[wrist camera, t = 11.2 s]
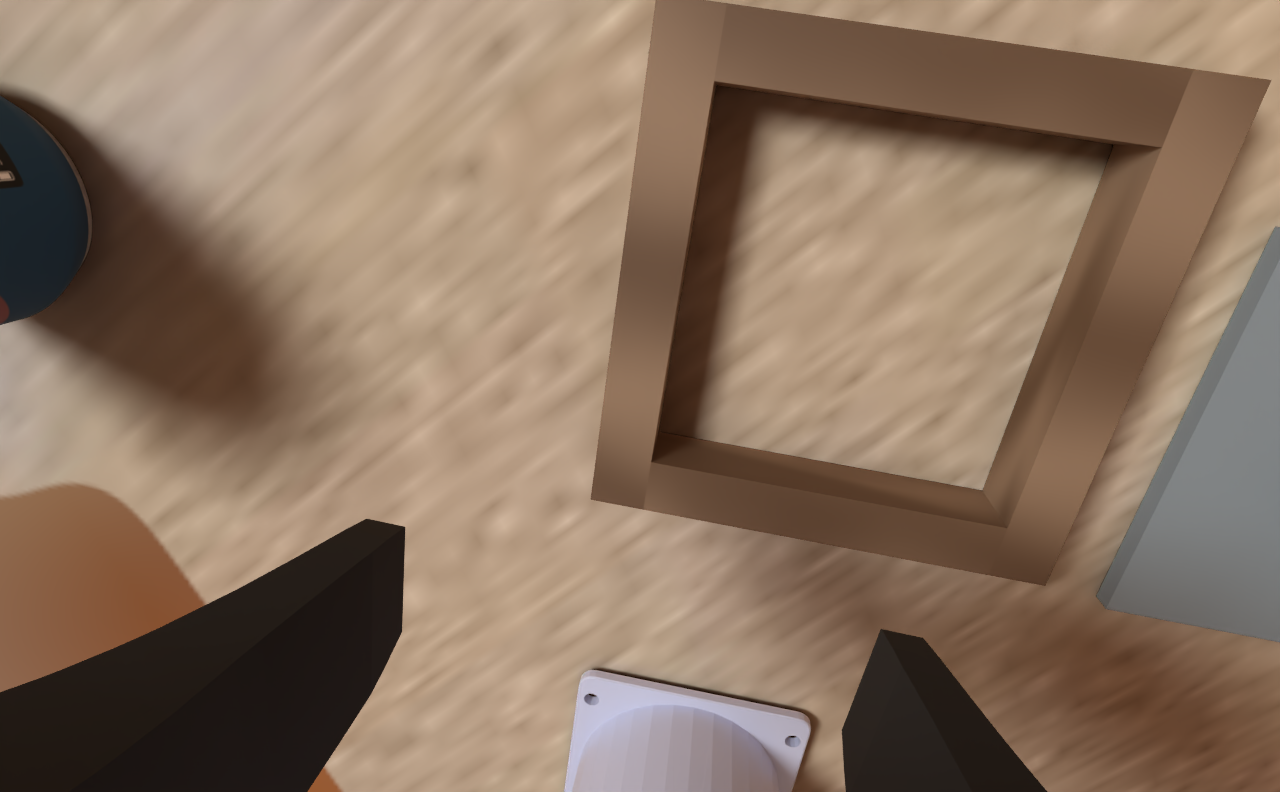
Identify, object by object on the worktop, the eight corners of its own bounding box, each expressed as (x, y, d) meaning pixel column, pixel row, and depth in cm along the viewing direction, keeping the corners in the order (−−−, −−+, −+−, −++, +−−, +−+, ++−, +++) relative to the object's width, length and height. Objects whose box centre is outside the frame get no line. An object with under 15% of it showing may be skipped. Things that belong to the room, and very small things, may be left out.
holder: (1017, 543, 20) (1044, 585, 19) (603, 466, 21) (590, 499, 19) (1208, 84, 16) (1270, 80, 14) (665, 7, 17) (656, -7, 15)
